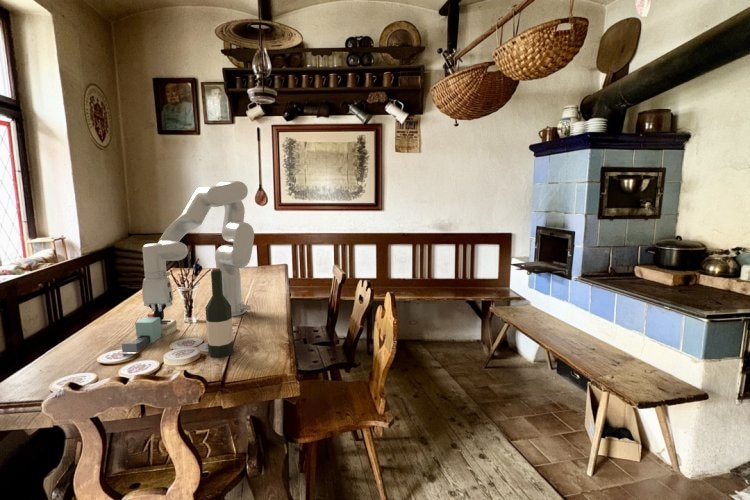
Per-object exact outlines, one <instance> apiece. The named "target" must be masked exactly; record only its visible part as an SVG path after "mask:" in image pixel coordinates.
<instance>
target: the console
mask: <svg viewBox="0 0 750 500" xmlns="http://www.w3.org/2000/svg"><path fill="white" fill-rule="evenodd" d="M160 323H161V330H160V332H161V337H168V336H170V335H171V334H173V333H174V332H175V331H177V326H178V325H177V319H163V320H161V321H160ZM173 331H174V332H173ZM170 333H171V334H170ZM167 335H168V336H167Z"/></svg>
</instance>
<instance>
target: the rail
mask: <svg viewBox="0 0 750 500" xmlns="http://www.w3.org/2000/svg"><path fill="white" fill-rule="evenodd" d="M149 345H151V343H150V336H140V337H139V338H137V337H136V339H134V340H132V341H131V342H130V341H129V342H126V341H125V342H122V343H121V351H122V352H139V353H140V351H142V350H143V349H144V348H146V347H147V346H149Z"/></svg>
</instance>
